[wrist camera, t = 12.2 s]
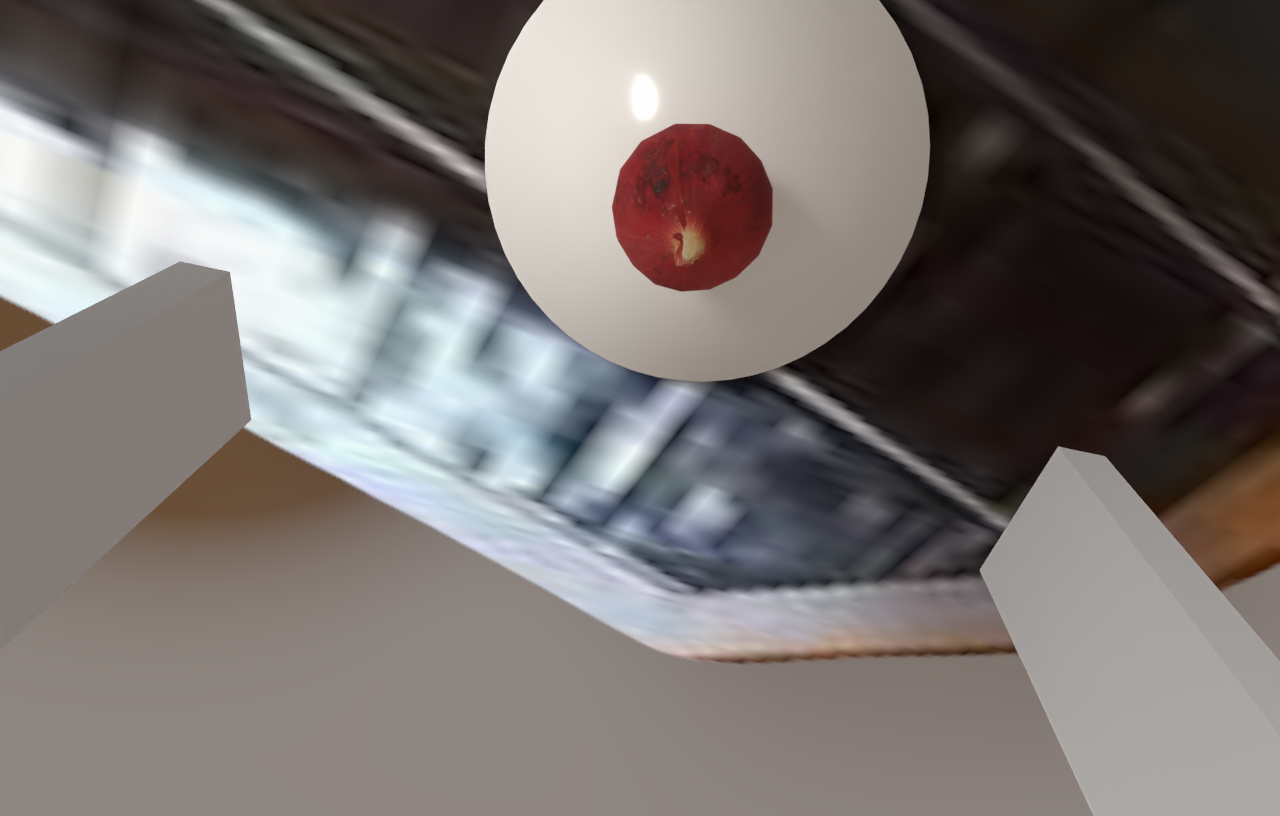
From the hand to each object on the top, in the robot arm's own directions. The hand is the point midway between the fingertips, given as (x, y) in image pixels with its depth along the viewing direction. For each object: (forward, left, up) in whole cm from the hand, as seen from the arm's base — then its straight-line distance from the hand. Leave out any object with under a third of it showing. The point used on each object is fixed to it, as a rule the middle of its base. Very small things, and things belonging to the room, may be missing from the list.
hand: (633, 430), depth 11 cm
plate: (+1, +1, -21) cm, 21 cm away
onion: (0, +1, -20) cm, 20 cm away
